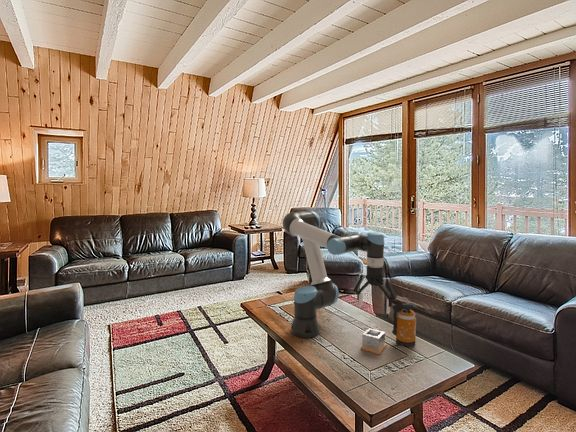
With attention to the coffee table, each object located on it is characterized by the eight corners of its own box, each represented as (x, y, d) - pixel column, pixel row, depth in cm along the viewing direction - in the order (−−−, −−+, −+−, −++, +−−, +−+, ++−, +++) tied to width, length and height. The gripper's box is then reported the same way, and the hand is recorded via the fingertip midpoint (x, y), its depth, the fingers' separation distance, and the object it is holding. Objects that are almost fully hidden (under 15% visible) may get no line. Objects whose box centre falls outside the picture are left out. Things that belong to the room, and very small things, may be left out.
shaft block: (360, 348, 163) (361, 333, 162) (368, 341, 170) (368, 326, 169) (379, 354, 158) (379, 338, 157) (386, 346, 165) (386, 331, 164)
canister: (416, 348, 163) (418, 307, 161) (392, 346, 165) (393, 305, 163) (413, 339, 172) (415, 300, 170) (390, 337, 174) (391, 299, 172)
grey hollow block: (362, 346, 163) (362, 334, 162) (368, 339, 169) (369, 328, 169) (378, 350, 158) (378, 338, 158) (384, 344, 165) (385, 332, 164)
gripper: (346, 263, 164) (346, 306, 166) (399, 271, 149) (397, 318, 152) (353, 260, 170) (353, 301, 172) (404, 268, 155) (403, 313, 158)
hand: (374, 309), depth 162 cm, fingers open, 13 cm apart
